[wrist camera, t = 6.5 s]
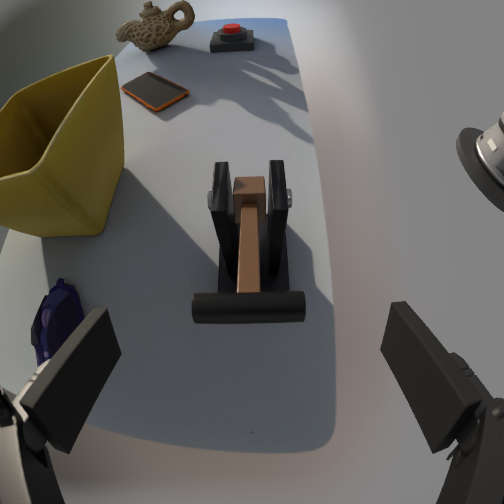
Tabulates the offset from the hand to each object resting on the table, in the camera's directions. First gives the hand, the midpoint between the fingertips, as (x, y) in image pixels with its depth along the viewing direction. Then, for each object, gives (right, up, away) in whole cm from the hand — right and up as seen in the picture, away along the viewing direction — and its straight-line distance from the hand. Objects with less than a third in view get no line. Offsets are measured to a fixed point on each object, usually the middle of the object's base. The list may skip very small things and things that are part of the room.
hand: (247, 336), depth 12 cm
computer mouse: (-23, -7, +15) cm, 28 cm away
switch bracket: (0, +3, +18) cm, 19 cm away
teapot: (-25, +58, +46) cm, 78 cm away
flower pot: (-25, +11, +23) cm, 36 cm away
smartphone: (-19, +35, +34) cm, 52 cm away
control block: (-4, +54, +43) cm, 69 cm away
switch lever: (0, +4, +6) cm, 7 cm away
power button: (-5, +56, +40) cm, 69 cm away
